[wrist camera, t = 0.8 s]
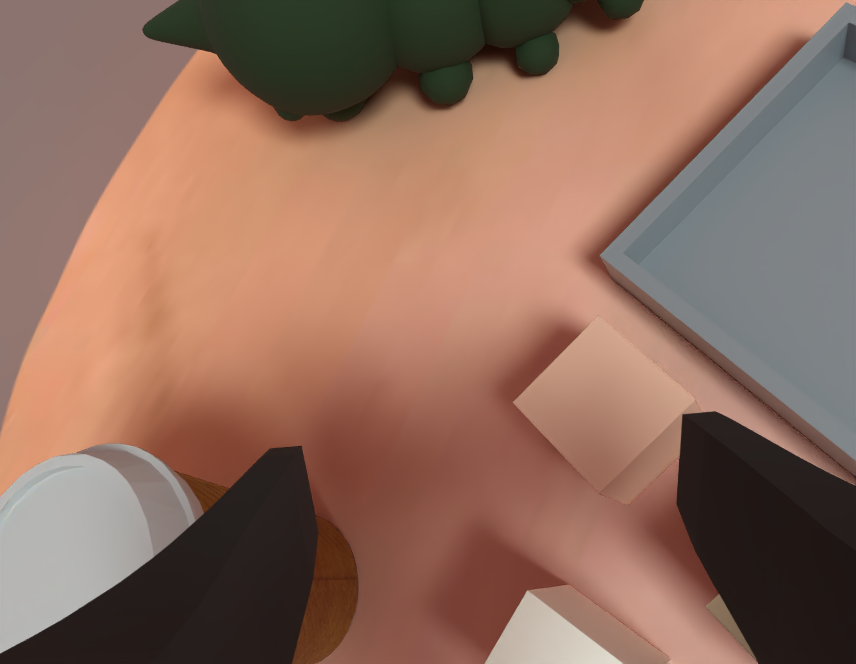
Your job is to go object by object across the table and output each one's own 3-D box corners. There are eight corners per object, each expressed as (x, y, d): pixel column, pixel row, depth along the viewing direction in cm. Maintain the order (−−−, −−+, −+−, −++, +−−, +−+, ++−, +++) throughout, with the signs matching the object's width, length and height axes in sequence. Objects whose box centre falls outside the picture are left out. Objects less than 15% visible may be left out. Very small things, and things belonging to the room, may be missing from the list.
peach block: (709, 428, 24) (695, 399, 20) (628, 505, 24) (598, 493, 20) (626, 355, 26) (598, 315, 22) (554, 427, 26) (512, 402, 22)
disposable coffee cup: (187, 657, 31) (-105, 707, 20) (253, 455, 32) (15, 408, 22) (353, 754, 26) (82, 881, 16) (420, 511, 28) (216, 484, 17)
